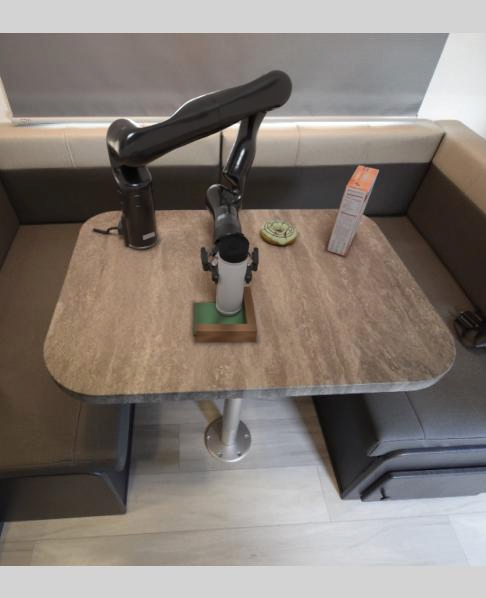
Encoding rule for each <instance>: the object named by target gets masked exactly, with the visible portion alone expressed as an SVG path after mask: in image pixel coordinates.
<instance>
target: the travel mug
mask: <svg viewBox="0 0 486 598" xmlns="http://www.w3.org/2000/svg"><path fill="white" fill-rule="evenodd" d="M249 250H250V241H249V238H247V236H245V233H243V232H242V233H239V232H236V233H235V234H228V235H226V236H224V237H223V238H222V239H221V240H220V243H219V256H218V284H216V290H215V291H216V293H215V303H216V310H217V311H218V312H219V313H220V314H221V315H223V316H228V317H231V316H235V315H237V314H238V313H239V312H240V311H241V306H242V299H243V291H244V287H245V284H246V283H245V276H246V269H247V261H248V260H249V259H248V258H249V255H248V252H249Z"/></svg>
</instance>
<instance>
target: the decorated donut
mask: <svg viewBox="0 0 486 598" xmlns="http://www.w3.org/2000/svg"><path fill="white" fill-rule="evenodd" d="M260 234H261V237H262V238H263V239H264V241H266V242H267V243H269V244H270V245H275V246H284V247H285V246H288V245H291V244H293V243H294V242H295V241H296V238H297V236H298V230H297V229H296V228H295V226H294V225H293V224H292V223H289V221H286V220H282V219H269V220H267V221H265V222H264V223H263V224H262V225H261V227H260Z"/></svg>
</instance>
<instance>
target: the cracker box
mask: <svg viewBox="0 0 486 598" xmlns="http://www.w3.org/2000/svg"><path fill="white" fill-rule="evenodd" d="M379 172H380V169H377V168H374V167H368V166H366V165H358V166H357V167H356V169H355V170H354V172H353V174H352V176H351V178H350V179H349V180H348V183H347V184H346V186H345V189H344V192H343V194H342V198H341V201H340V205H339V208H338V211H337V214H336V217H335V221H334V224H333V227H332V230H331V234H330V237H329V240H328V244H327V246H326V249H325V250H326V251H327V252H330V253H333V254H335V255H339V256H342V257H346V255H347V253H348V251H349V248H350V246H351V244H352V242H353V240H354V238H355V236H356V234H357V230H358V229H359V226H360V223H361V220H362V218H363V215H364V212H365V210H366V207H367V204H368V202H369V199H370V197H371V194H372V191H373V189H374V185H375V183H376V180H377V177H378V174H379Z"/></svg>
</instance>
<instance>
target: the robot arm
mask: <svg viewBox="0 0 486 598" xmlns="http://www.w3.org/2000/svg"><path fill="white" fill-rule="evenodd" d="M293 88H294V87H293V81H292V79H291V77H290V75H289V74H288V73H287V72H285V71H284V70H281V69H271V70H268V71H266V72H264V73H262V74H261V75H259V76H257V77H255V78H254V79H252V80H251V81H249V82H246V83H243V84H240V85H235V86H230V87H227V88H224V89H219V90H215V91H212V92H209V93H206V94H203V95H200V96H198V97H194V98H192V99H190V100H188V101H187V102H185V103H184V104H182V106H180V107H179V108H178V109H177V110H176V111H175V112H174V113H173V114H172V115H171V116H170V117H168V118H167V119H164V120H162V121H160V122H157V123H154V124H151V125H146V126H141V125H139V124H138V123H136V122H135V121H134V120H132V119H129V118H125V117H123V118H122V117H121V118H117V119H115V120H114V121H112V122H111V123H110V124H109V126H108V128H107V130H106V137H105V143H106V144H105V145H106V149H107V154H108V159H109V165H110V167H111V173H112V176H113V179H114V181H115V183H116V189H117V194H118V199H119V205H120V210H121V216H120V219H119V221H118V223H117V226H111V227H108V228H107V229H106V230H103V229H99V228H95V227H94V228H93V229H92V231H93V232H97V233H100V234H105V235H107V234H110V231H113V230H117V235H118V236H123V239H124V244H125V247H130V249H133V250H139V251H142V250H149V249H151V248H153V247H154V246H156V245H157V244H158V242H159V235H158V225H157V224H158V223H157V216H156V215H157V214H156V206H155V205H156V204H155V195H154V184H153V176H152V174H151V172H150V171H149V168H148V166H147V165H149V164H151V163H153V162H154V161H156V160H158V159H160V158H161V157H164V156H165V155H167V154H169V153H171V152H172V151H175V150H177V149H179V148H182V147H185V146H187V145H190V144H192V143H194V142H197V141H199V140H201V139H206V138H208V137H210V136H213V135H215V134H217V133H220V132H222V131H224V130H226V129H229V128H230V127H232V126H235V125H236V124H238V123H239V125H238V129H237V132H236V135H235V139H234V141H233V144H232V147H231V149H230V152H229V153H228V156H227V159H226V161H225V164H224V166H223V169H222V176H223V177H224V179H225V180H226V181H228V182H229V184H230V185H231V188H228V187H226V186H225V185H223V184H220V183H215V184H212V185H210V186H209V187H208V189H207V190H206V192H205V196H204V204H205V207H206V209H207V211H208V214H209V216H210V217H211V219H212V228H211V233H212V234H211V238H212V247H211V248H210V249H207V248H206V247H205V246H201V247H200V261H201V266H202V270H203V272H210V276H211V277H210V279H211V282H214V284H215V285H217V284H218V256H219V243H220V240H221V239H222V238H223V237H224V236H226V235H228V234H235V233H236V232H239V233H242V234H243V228H242V225H241V222H240V216H239V213H240V212H241V209H242V207H243V203H244V194H245V188H246V182H247V178H248V176H249V174H250V171H251V168H252V166H253V163H254V160H255V157H256V153H257V146H258V145H257V144H258V135H259V130H260V127H261V125H262V123H263V121H264V119H265V117H266V115H267V114H268V113H270V112H272V111H275V110H279V109H280V108H282V107H284V105H285V104H287V103H288V101H289V100H290V98H291V97H292V93H293ZM259 255H260V253H259V247H257V246H256V247H253V249H249V252H248V258H249V259H250V260H251V261H250V260H249V259H248V261H247V269H246V276H245V284H246V285H249V284H250V282H252V280H253V272H258V269H259V263H260V257H259ZM210 257H213V258H214V259H213V260H212V261H211V262H209V258H210Z"/></svg>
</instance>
